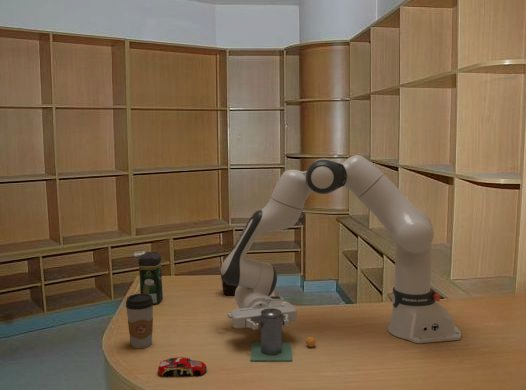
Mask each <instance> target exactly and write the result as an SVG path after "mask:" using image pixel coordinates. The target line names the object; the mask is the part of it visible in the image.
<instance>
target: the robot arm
mask: <svg viewBox="0 0 526 390" xmlns="http://www.w3.org/2000/svg"><path fill="white" fill-rule="evenodd" d="M342 187H345V188H346V189H349V190H350V191H351V192H352V193H353V195H355V197H357V198H358V200H359V201H360V202H361V203H362V204H363V205H364V206H365V207H367V209H368V210H369V211H370V212H371V213H372V214H373V215H374V216H375V217H376V219H378V221H379V222H380V224H381V225H382V226H383V227H384V229H386V231H387V232H388V233H389V234H390V235H391V237H392V238H393V239H394V240H395V252H394V253H395V254H394V257H395V258H394V284H393V285H394V286H393V288H392V294H391V295H392V296H391V299H392V300H391V303H392V312H391V317H390V321H389V323H388V326H387V331H388V332H389V333H390V334H391V335H392V336H394V337H396V338H397V337H398V338H399V339H403V340H404V339H405V340H408V341H410V342H412V343H414V344H427V343H438V342H449V341H459V340H461V338H462V332H461V330H460V328H459V327H458V326H456V325H455V322H454V318H453V316H452V314H451V312H449V310H447V308H446V307H444V306H443V305H442V304H440V303H439V302H440V301H441V300H442V297H441V295H440V294H439V293H437V292H436V291H435V290H433V289H432V288H431V280H432V279H431V275H432V242H433V241H434V235H435V234H434V229H433V225H432V221H431V218H430V217H429V215H428V214H427V213H426V212H424V211H423V210H421V209H417V208H416V206H414V204H413V203H412V202H411V201H410V200H409V199H408V198H407V196H406V195H405V194H404V193H403V192H402V191H401V189H399V188H398V186H397V185H395V184H394V182H393V181H391V179H389V177H387V175H386V174H385V173H383V172H382V171H381V170H380V169H379V168H378V166H376V165H375V164H373V162H371V161H370V160H369V159H367V158H366V157H365V156H363V155H360V154H356V155H352V156H350V157H348V158H347V159H345V161H343V162H342V163H341V162H336V161H334V160H333V159H331V158H319V159H316V160H315V161H312V163H311V164H310V165H309V166H308V167H307V169H306V170H305V171H301V170H300V169H299V170H298V169H287V170H285V171H284V172H283V173H282V175H280V177H279V178H278V180H277V183H276V185H275V186H274V189H273V191H272V194H271V196H270V198H269V201H267V203H266V205H265V206H264V207H262V209H260V210H256V211H255V212H254V213H253V214H252V215H251V217H250V218H249V220H248V221H247V223H246V224H245V226H244V228H243V229H242V231H241V233H240V234H239V236H238V238H237V240H236V242H235V243H234V245H233V247H232V249H231V250H230V252H229V253H228V254H227V256H226V257H225V258H224V260H223V262H222V264H221V267H220V269H221V271H220V270H219V271H220V273H219V274H220V277H221V276H222V278H223V280H224V281H225V283H226V284H227V285H234V286H238V287H237V288H236V291H235V297H234V299H235V303H236V305H237V307H238V308H234V309H232V310H231V311H230V312H228V313H227V317H228V318H229V319H230V320H231V325H232V327H233V328H234V329H244V328H248V329H252V330H253V331H257V330H259V326H260V327H261V311H262V310H264V309H269V308H273V309H278V310H280V311H281V316H282V326H283V327H285V326H286V327H289V325H290V322H296V321H297V318H298V317H297V316H298V313H297V311H298V310H297V308H296V307H295V306H294V305H293V304H292V303H291V302H289V301H286V300H285V297H283V296H273V295H272V294H273V292H274V291H275V289H276V286H277V281H278V275H277V271H276V269H275V267H274V265H273V264H272V263H270V262H269V263H268V262H265V261H262V260H258V259H254V258H252V257H251V258H250V257H246V255H248V254H247V253H248V252H249V250H250V249H251V246H252V245H253V243H254V242H255V240H256V239H257V237H259V235H261V234H263V233H266V232H271V231H272V232H273V231H283V230H287V229H289V228H291V227H294V226H295V225H296V224H297V222H298V221H299V220H300V217H301V214H302V212H303V209H304V207H305V203H306V201H307V200H308V197H309V196H310V195H311V194H312V193H316V194H320V195H327V194H330V193H332V192H334V191H336V190H338V189H341V188H342Z"/></svg>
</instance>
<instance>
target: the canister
mask: <svg viewBox="0 0 526 390" xmlns="http://www.w3.org/2000/svg"><path fill="white" fill-rule="evenodd" d="M282 326H283V324H282V316H281V311H280V310H278V309H273V308H269V309H264V310H262V311H261V325H260V342H261V353H263V354H266V355H277V354H279V353H282V342H283V341H282V340H283V339H282V338H283V337H282V335H283V334H282V331H283V330H282Z"/></svg>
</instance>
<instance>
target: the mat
mask: <svg viewBox="0 0 526 390" xmlns="http://www.w3.org/2000/svg"><path fill="white" fill-rule="evenodd" d="M291 343H292V342H291V341H282V353H279V354H277V355H266V354H263V353H261V341H260V342H259V341H252V342H251V346H250V347H251V348H250V357H249V358H250V360H249V362H250V363H251V362H252V363H253V362H255V363H256V362H258V363H260V362H262V363H263V362H264V363H265V362H267V363H268V362H269V363H271V362H272V363H273V362H274V363H275V362H278V363H280V362H282V363H283V362H287V363H288V362H289V363H291V362H293V353H292V352H293V351H292V344H291Z"/></svg>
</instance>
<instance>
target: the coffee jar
mask: <svg viewBox="0 0 526 390" xmlns="http://www.w3.org/2000/svg"><path fill="white" fill-rule="evenodd" d="M161 258H162V256H161V254H160V253H159V252H158V251H146V252H144V253H143V254H142V255H140V256H139V258H138V270H139V271H138V273H139V291H140V292H139V294H149V295H151V296H152V299H153V303H154V304H153V305H157V304H160V302H161V301H162V300H163V298H164V295H163V292H164V291H163V278H162V276H163V275H162V259H161Z"/></svg>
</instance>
